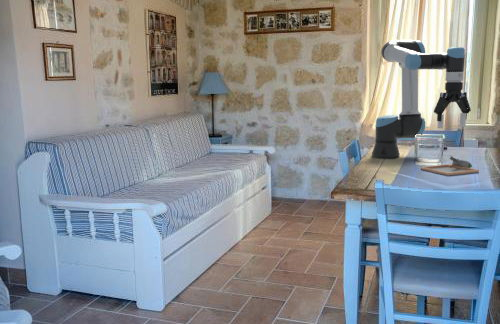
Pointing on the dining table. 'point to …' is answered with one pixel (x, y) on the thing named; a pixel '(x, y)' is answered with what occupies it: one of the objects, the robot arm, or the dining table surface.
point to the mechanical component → (460, 162)
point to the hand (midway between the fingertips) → (451, 127)
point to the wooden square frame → (449, 169)
